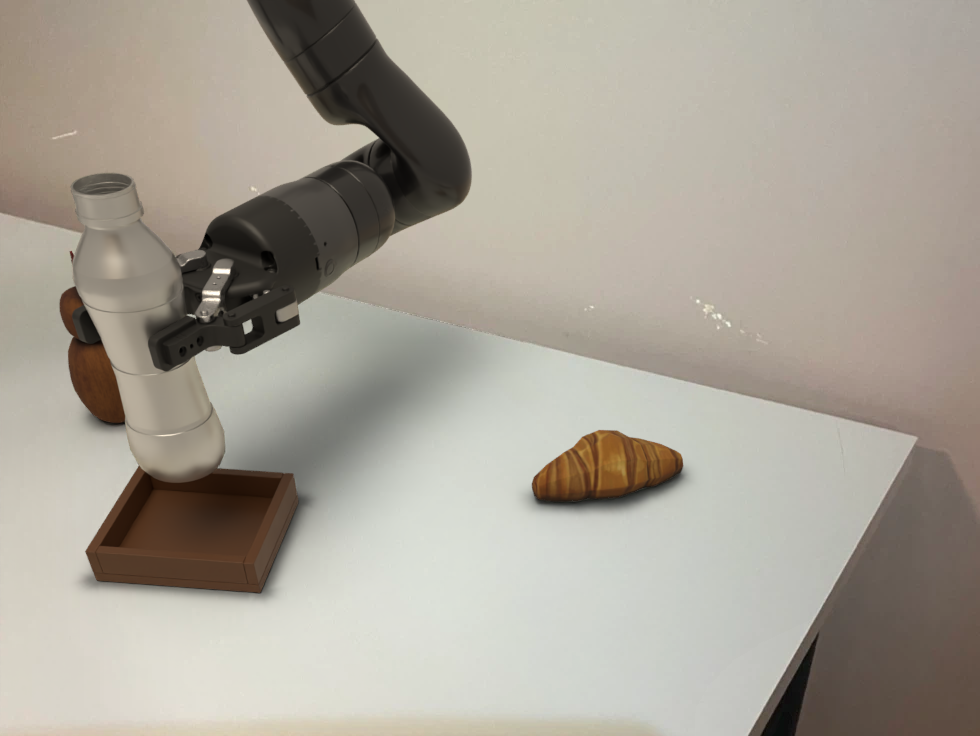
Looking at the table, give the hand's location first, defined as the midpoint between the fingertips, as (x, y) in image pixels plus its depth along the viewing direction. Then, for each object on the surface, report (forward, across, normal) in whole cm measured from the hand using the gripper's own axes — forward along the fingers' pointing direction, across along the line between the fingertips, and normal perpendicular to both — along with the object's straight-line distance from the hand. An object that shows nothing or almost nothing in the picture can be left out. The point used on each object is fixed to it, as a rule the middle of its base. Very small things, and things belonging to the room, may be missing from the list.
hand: (117, 342), depth 66 cm
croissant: (-25, +24, +18) cm, 39 cm away
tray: (-2, 0, +17) cm, 18 cm away
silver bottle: (-2, 0, +11) cm, 11 cm away
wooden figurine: (-12, -19, +18) cm, 29 cm away
